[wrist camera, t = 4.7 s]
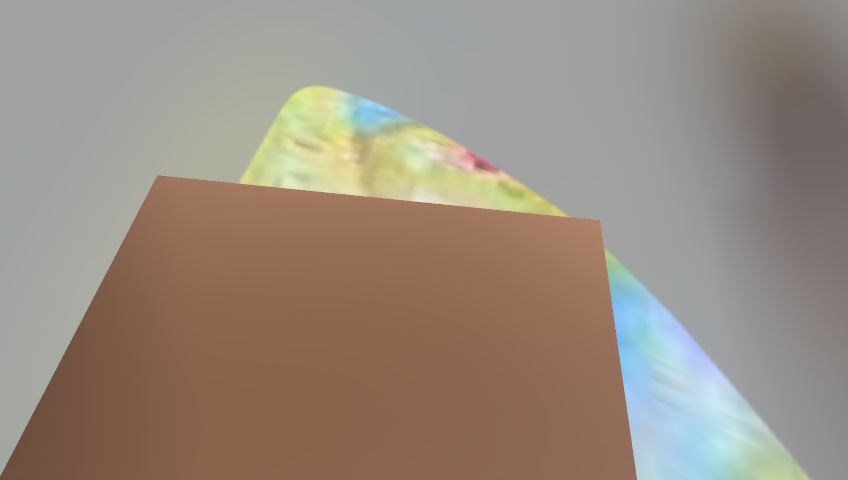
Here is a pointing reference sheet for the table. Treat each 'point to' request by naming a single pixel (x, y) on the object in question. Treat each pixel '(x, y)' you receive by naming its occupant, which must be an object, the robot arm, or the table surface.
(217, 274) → the brown rectangular block
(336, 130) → the table surface
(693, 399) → the table surface
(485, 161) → the table surface
